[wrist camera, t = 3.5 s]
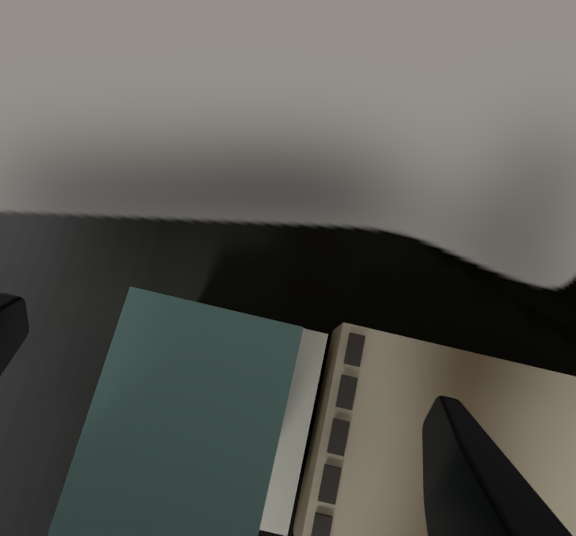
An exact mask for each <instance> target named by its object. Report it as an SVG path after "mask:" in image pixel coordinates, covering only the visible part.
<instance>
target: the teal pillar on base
mask: <svg viewBox="0 0 576 536" xmlns="http://www.w3.org/2000/svg"><path fill="white" fill-rule="evenodd" d="M327 338H328V334H325V333H321V332H317V331H312V330H308V329H304V327H301V326H296V325H292V324H288V323H284V322H279V321H275V320H271V319H267V318H262V317H258V316H254V315H249V314H245V313H241V312H237V311H232V310H228V309H224V308H220V307H215V306H211V305H207V304H203V303H198V302H194V301H190V300H185V299H181V298H177V297H173V296H168V295H164V294H160V293H156V292H151V291H147V290H143V289H138V288H134V287H130V288H129V291H128V294H127V297H126V300H125V303H124V306H123V309H122V312H121V315H120V318H119V321H118V324H117V327H116V330H115V333H114V336H113V339H112V342H111V345H110V348H109V351H108V354H107V358H106V361H105V364H104V367H103V370H102V373H101V376H100V379H99V382H98V385H97V388H96V391H95V394H94V397H93V400H92V403H91V406H90V409H89V412H88V415H87V418H86V421H85V424H84V427H83V430H82V433H81V436H80V439H79V442H78V445H77V448H76V451H75V454H74V457H73V460H72V463H71V466H70V469H69V472H68V475H67V478H66V481H65V484H64V487H63V490H62V493H61V496H60V499H59V502H58V505H57V508H56V511H55V514H54V517H53V520H52V523H51V526H50V529H49V532H48V535H47V536H258V534H259V530H263V531H267V532H272V533H276V534H280V535H284V536H287V535H288V530H289V525H290V520H291V515H292V510H293V505H294V501H295V496H296V491H297V486H298V481H299V476H300V471H301V466H302V461H303V456H304V451H305V446H306V441H307V436H308V431H309V426H310V422H311V417H312V412H313V407H314V402H315V397H316V392H317V387H318V382H319V377H320V372H321V367H322V362H323V357H324V352H325V347H326V342H327Z"/></svg>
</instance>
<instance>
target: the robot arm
mask: <svg viewBox="0 0 576 536" xmlns="http://www.w3.org/2000/svg"><path fill="white" fill-rule="evenodd" d="M28 331H29V324H28V317H27V311H26V304H25V301H24V299H23V298H21V297H20V296H16V295H11V294H7V293H0V375H1V374H2V372H3V371H4V369H5V368H6V367H7V365H8V364H9V362H10V361H11V359H12V358H13V356H14V355H15V353H16V352H17V350H18V349H19V347H20V346H21V344H22V343H23V341H24V340H25V338H26V336H27V334H28ZM422 454H423V497H424V509H425V518H426V526H427V534H428V536H573V535H572V534H571V533H570V532H569V531H568V529H567V528H566V527H565V526H564V525H563V523H562V522H561V521H560V520H559V519H558V517H557V516H556V515H555V514H554V513H553V512H552V510H551V509H550V508H549V507H548V506H547V504H546V503H545V502H544V501H543V500H542V498H541V497H540V496H539V495H538V494H537V492H536V491H535V490H534V489H533V488H532V486H531V485H530V484H529V483H528V482H527V480H526V479H525V478H524V477H523V476H522V474H521V473H520V472H519V471H518V470H517V468H516V467H515V466H514V465H513V464H512V463H511V461H510V460H509V459H508V458H507V457H506V455H505V454H504V453H503V452H502V451H501V449H500V448H499V447H498V446H497V445H496V443H495V442H494V441H493V440H492V439H491V437H490V436H489V435H488V434H487V433H486V431H485V430H484V429H483V428H482V427H481V425H480V424H479V423H478V422H477V421H476V419H475V418H474V417H473V416H472V415H471V413H470V412H469V411H468V410H467V409H466V408H465V406H464V405H463V404H462V403H461V402H460V401H459V400H458V399H455V398H451V397H447V396H442V395H441V396H438V397H437V398H436V399H435V401H434V402H433V404H432V406H431V408H430V410H429V412H428V414H427V416H426V418H425V420H424V422H423V427H422Z"/></svg>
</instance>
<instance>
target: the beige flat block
mask: <svg viewBox="0 0 576 536" xmlns="http://www.w3.org/2000/svg"><path fill="white" fill-rule="evenodd" d="M441 395H442V396H447V397H451V398H455V399H458V400H459V401H460V402H461V403H462V404H463V405H464V406H465V408H466V409H467V410H468V411H469V412H470V413H471V415H472V416H473V417H474V418H475V419H476V421H477V422H478V423H479V424H480V425H481V427H482V428H483V429H484V430H485V431H486V433H487V434H488V435H489V436H490V437H491V439H492V440H493V441H494V442H495V443H496V445H497V446H498V447H499V448H500V449H501V451H502V452H503V453H504V454H505V455H506V457H507V458H508V459H509V460H510V461H511V463H512V464H513V465H514V466H515V467H516V468H517V470H518V471H519V472H520V473H521V474H522V476H523V477H524V478H525V479H526V480H527V482H528V483H529V484H530V485H531V486H532V488H533V489H534V490H535V491H536V492H537V494H538V495H539V496H540V497H541V498H542V500H543V501H544V502H545V503H546V504H547V506H548V507H549V508H550V509H551V510H552V512H553V513H554V514H555V515H556V516H557V517H558V519H559V520H560V521H561V522H562V523H563V525H564V526H565V527H566V528H567V529H568V531H569V532H570V533H571V534H572V535H573V536H576V377H575V376H571V375H567V374H562V373H558V372H554V371H550V370H545V369H541V368H537V367H533V366H528V365H524V364H520V363H515V362H511V361H507V360H503V359H498V358H494V357H490V356H485V355H481V354H477V353H473V352H468V351H464V350H460V349H455V348H451V347H447V346H443V345H438V344H434V343H430V342H426V341H421V340H417V339H413V338H408V337H404V336H400V335H396V334H391V333H387V332H383V331H378V330H374V329H370V328H366V327H361V326H357V325H353V324H348V323H344V322H343V323H342V324H341V325H339V326H338V327H337V328H335V329H334V330H333V331H332V336H331V341H330V346H329V351H328V356H327V361H326V366H325V371H324V376H323V381H322V386H321V391H320V396H319V401H318V406H317V411H316V416H315V421H314V426H313V431H312V436H311V441H310V446H309V451H308V456H307V461H306V466H305V471H304V476H303V481H302V486H301V491H300V496H299V501H298V506H297V511H296V516H295V521H294V526H293V533H294V536H428V534H427V526H426V518H425V509H424V497H423V454H422V427H423V422H424V420H425V418H426V416H427V414H428V412H429V410H430V408H431V406H432V404H433V402H434V401H435V399H436V398H437V397H438V396H441Z"/></svg>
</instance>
